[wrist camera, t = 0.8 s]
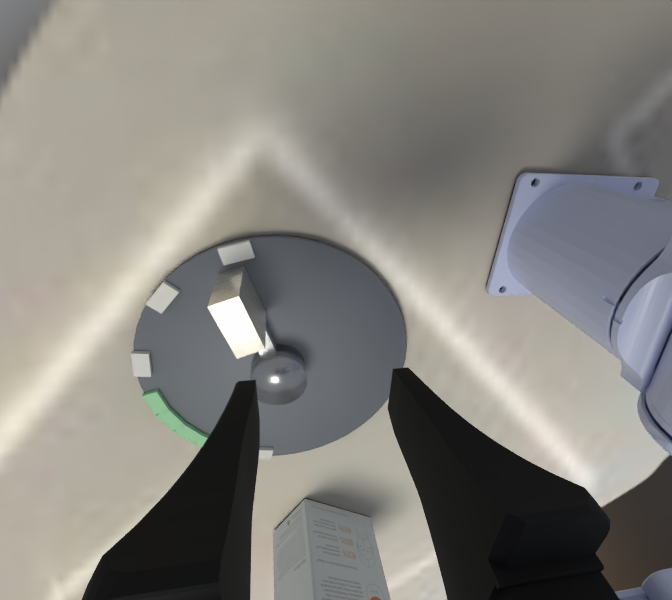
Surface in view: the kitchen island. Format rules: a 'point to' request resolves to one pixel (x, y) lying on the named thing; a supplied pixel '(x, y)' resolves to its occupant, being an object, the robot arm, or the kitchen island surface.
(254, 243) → the dial
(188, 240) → the kitchen island surface
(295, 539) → the small box
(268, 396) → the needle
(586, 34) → the kitchen island surface
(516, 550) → the robot arm
